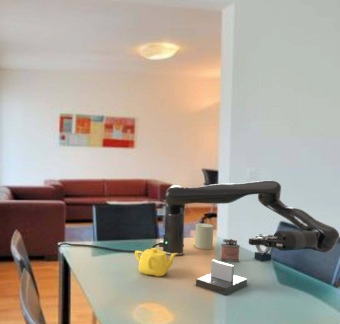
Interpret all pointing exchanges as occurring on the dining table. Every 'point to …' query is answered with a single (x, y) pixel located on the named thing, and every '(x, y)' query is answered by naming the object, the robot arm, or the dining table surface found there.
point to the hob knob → (222, 270)
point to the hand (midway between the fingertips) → (249, 241)
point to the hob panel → (221, 284)
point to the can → (204, 236)
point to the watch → (262, 254)
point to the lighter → (230, 251)
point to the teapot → (154, 261)
